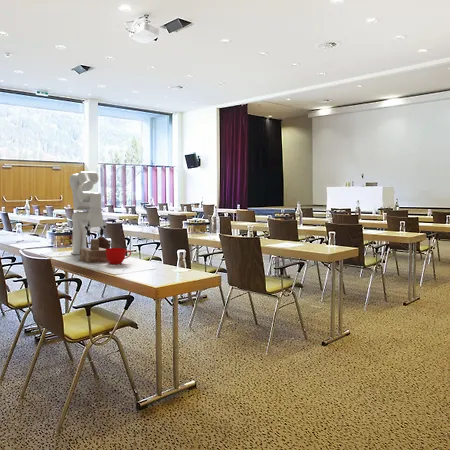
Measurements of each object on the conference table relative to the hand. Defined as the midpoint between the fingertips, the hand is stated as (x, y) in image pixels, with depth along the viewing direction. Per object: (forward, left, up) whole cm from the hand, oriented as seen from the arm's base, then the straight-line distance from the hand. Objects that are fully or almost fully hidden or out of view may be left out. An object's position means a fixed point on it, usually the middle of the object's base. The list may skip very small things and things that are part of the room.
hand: (95, 235), depth 319 cm
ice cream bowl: (-15, +14, -18) cm, 27 cm away
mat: (-1, 0, -18) cm, 18 cm away
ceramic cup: (+18, +7, -18) cm, 27 cm away
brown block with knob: (-1, 0, -17) cm, 17 cm away
